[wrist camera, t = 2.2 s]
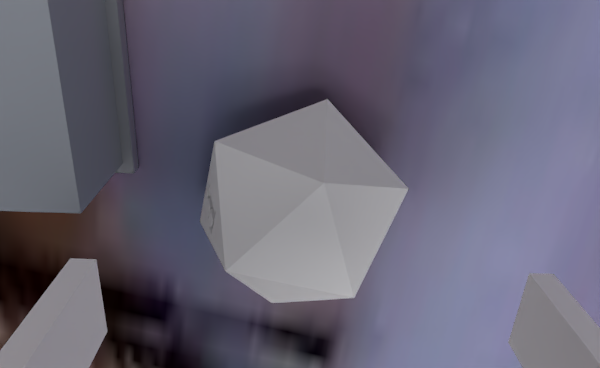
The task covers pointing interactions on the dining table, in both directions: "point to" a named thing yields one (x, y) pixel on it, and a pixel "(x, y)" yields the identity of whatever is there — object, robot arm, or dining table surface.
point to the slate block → (63, 103)
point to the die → (299, 205)
